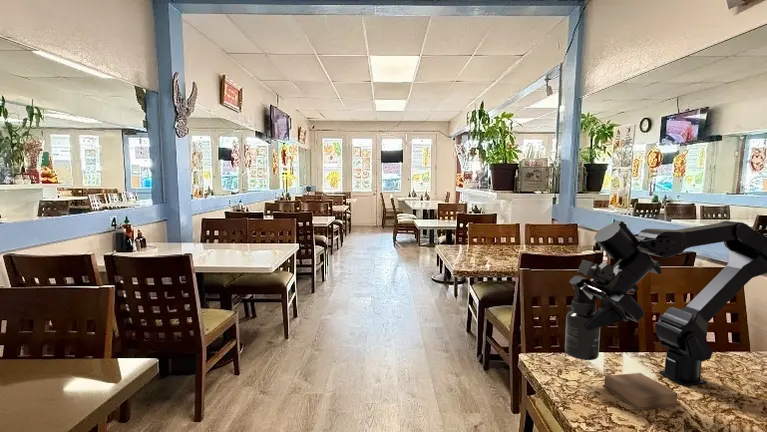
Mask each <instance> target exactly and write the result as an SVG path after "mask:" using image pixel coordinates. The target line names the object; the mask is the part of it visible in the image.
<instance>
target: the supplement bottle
mask: <svg viewBox="0 0 767 432" xmlns="http://www.w3.org/2000/svg"><path fill="white" fill-rule="evenodd" d="M571 305H572V306H571ZM571 305H570V307H571V309H572V311H570V312H569V313H568V312H567V313H568V314H566V316H565V317H566V318H565V337H564V338H565V339H564V340H565V341H564V351H565V353H566V354H567V355H568V356H569V357H572V358H574V359H576V360H577V359H579V360H583V361H595V360H597V359H598V358H599V355H600V338H601V327H599V328H596V329H593V330H590V331H588V330H586V328H585V325H586V324H587V323H588V321H589V320H590V319H591V318H592V316H593V315H594V314H595V313H596V312H597V303H596V302H595V301H589V300H583V299H574V298H573V299H572V300H571Z"/></svg>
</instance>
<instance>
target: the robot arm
mask: <svg viewBox="0 0 767 432" xmlns="http://www.w3.org/2000/svg"><path fill="white" fill-rule="evenodd" d="M594 241H595V242H596V243H597V245H599V246H600V248H601V249H602V250H603V251H604V252H605V253H606V254H607V255H608V256H609V257H610V258H611V259H613V260H618V261H617V262H616V263H615V264H614V265H611V264H609V263H606V262H601V263H600V264H598V263H594V262H592V261H588V260H586V259H582V260H581V263H580V264H579V267H578V269H577V271H576V273H577V274H579V275H574V276H572V278H571V279H569V281H568V282H569V283H570V284H571V285H572V288H573V290H574V298H573V300H574V299H583V300H589V301H593V302H595V301H597V300H598V299H599V300H600V307H599V308H598V309H597V310H596V312H595V314H594V315H593V316H592V318H591V319H590V320H589V321H588V323H587V324H586V325H585V328H586V330H588V331H590V330H593V329H596V328H599V327H600V328H602V327H606V326H608V325H612V324H615V323H619V322H624V321H625V322H628V321H629V320H631V321H633V322H635V323H639V322H640V321H641V320H642V318H643V317H644V314H645V309H644V308H643V307H642V306H641V305H640V304H639V303H638V302H637V300H636V299H635V298H634V297H633V296H632V295H631V294H629V292H630V291H633V292H637V291H638V290H639V289H640V288H639V287H638V283H639V282H640V281H641V280H642V279H643V278H644V277H645V276H646V275H647V274H648V273H654V274H657V275H661V274H662V268H661V261H658V260H654V259H653V258H652V256H655V257H660V258H672V257H674V256H676V255H680V254H682V253H684V251H685V250H687V249H689V248H690V249H691V248H695V247H701V246H706V245H712V244H719V243H723V244H724V246H725V248H727V249H728V250H729V252H728V253H727V264H726V266H725V267H724V268H723V269H721V271H720V272H719V273H718V274H717V275H716V276H715V277H713V279H712V280H710V282H709V283H708V284H706V286H705V287H704V288H703V289H702V290H701V291H700V292H699V293H698V294H697V295H696V296H695V297H693V299H692V300H691V301H690V302H689V303H688V304H687V305H686V306H685V307H682V308H677V307H674V306H670V307H668V308H667V309H666V310H665V311H664V313H663V314H662V315H661V316H658V317H657V319H658V321H657V322H656V323H655V334H656V336H657V338H658V340H659V343H660V345H661V346H662V347H664V348H667V349H666V357H664V358H665V359H664V370H661V369H660V370H659V372H658V373H659V374H660V375H662V376H664V377H666V378H668V379H670V380H672V381H674V382H676V383H678V384H679V385H681V386H693V385H694V386H697V385H705V384H706V385H707V384H708V381H707V380H706V379H704V378H702V377H701V376H702V362H706V360H707V361H709V360H711V358H712V355H713V353H714V350H713V349H712V348H711V347H710V346H709V344H708V343H707V342H706V341H705V339H706V337H707V336H708V328H709V327H708V324H709V322H710V321H711V320H712V319H713V318H714V317H715V316H716V315H717V314H718V313H719V312H720V311H721V310H722V309H723V308H724V307H725V306H726V305H727V304H728V303H729V302H730V301H731V300H733V298H734V297H735V296H736V295H737V294H738V293H739V292H740V291H741V290H742V289H743V288H744V287H745V285H747V284H748V283H749V282H750V280H752V279H753V278H756V277H760V276H762V275H765V274H767V236H766V235H764V234H762V233H760V232H759V231H756V230H755V229H753V227H751V226H750V225H749V224H747V223H745V222H742V221H741V222H740V221H733V220H732V221H731V220H724V221H721V222H718V223H712V224H711V223H710V224H705V225H704V224H703V225H699V226H693V227H686V228H685V227H684V228H680V229H665V228H644V229H642V230H640V231H639V233H635V234H634V233H633V232H632V231H631V230H630V229H629V228H628V225H626V223H625V222H624V221H622V220H614V222H613V223H610V224H608V225H605V226H604V227H603V228H599V230H598V231H596V233H595V234H594ZM650 255H651V256H650ZM581 275H584V276H586V277H587V278H586V277H584V276H581ZM589 278H590V279H589ZM571 306H572V304H570V307H569V309H568V312H567V314H568V313H569V312H570V311H572V309H571ZM567 314H566V315H567Z"/></svg>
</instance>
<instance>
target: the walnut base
mask: <svg viewBox="0 0 767 432" xmlns="http://www.w3.org/2000/svg"><path fill="white" fill-rule="evenodd" d="M603 383H604V384H602V387H603V388H604V389H605V390H607V391H609V392H610V393H612V394H614V395H615V396H616V397H617V398H619V399H621V400H622V401H623V402H625V403H626V404H628V405H630V406H631V407H632V408H634V409H636V410H637V411H644V410H652V409H653V410H654V409H662V408H672V407H679V403H678V393H677V392H676V391H674V390H672V389H670V388H668V387H666V386H665V385H663V384H661V383H660V382H658V381H656V380H654V379H652V378H650V377H648V376H646V375H645V374H643V373H641V372H633V373H623V374H621V373H620V374H611V375H604V382H603Z"/></svg>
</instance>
